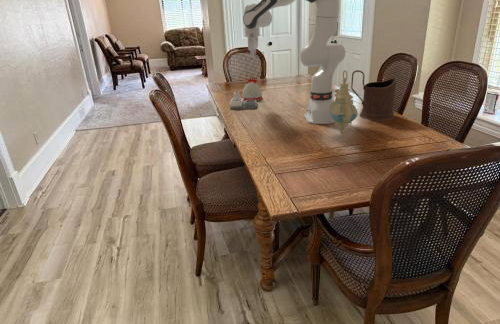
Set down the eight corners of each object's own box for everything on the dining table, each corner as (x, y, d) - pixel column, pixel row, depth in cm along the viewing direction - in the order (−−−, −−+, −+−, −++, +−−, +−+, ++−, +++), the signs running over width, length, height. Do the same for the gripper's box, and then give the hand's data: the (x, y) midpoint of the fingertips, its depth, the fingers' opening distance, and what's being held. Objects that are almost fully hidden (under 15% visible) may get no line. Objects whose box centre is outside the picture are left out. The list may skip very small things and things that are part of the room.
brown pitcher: (397, 121, 181) (403, 72, 171) (350, 120, 186) (353, 73, 176) (391, 111, 198) (396, 66, 188) (348, 111, 203) (351, 67, 192)
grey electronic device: (254, 109, 216) (254, 101, 214) (230, 109, 218) (229, 102, 217) (257, 104, 227) (257, 97, 225) (233, 104, 229) (233, 97, 227)
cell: (239, 105, 221) (238, 92, 217) (233, 105, 221) (232, 92, 218) (240, 104, 224) (239, 91, 221) (234, 104, 225) (233, 91, 221)
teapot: (323, 125, 180) (326, 67, 167) (345, 124, 180) (349, 65, 167) (336, 141, 158) (339, 75, 145) (360, 140, 158) (366, 74, 146)
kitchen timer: (261, 100, 236) (261, 78, 230) (242, 101, 237) (240, 79, 231) (261, 95, 249) (261, 74, 243) (242, 96, 250) (241, 75, 244)
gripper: (255, 33, 200) (256, 58, 205) (259, 32, 219) (260, 54, 224) (244, 34, 201) (246, 58, 206) (249, 32, 220) (250, 55, 225)
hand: (253, 56), depth 215 cm, fingers open, 8 cm apart
